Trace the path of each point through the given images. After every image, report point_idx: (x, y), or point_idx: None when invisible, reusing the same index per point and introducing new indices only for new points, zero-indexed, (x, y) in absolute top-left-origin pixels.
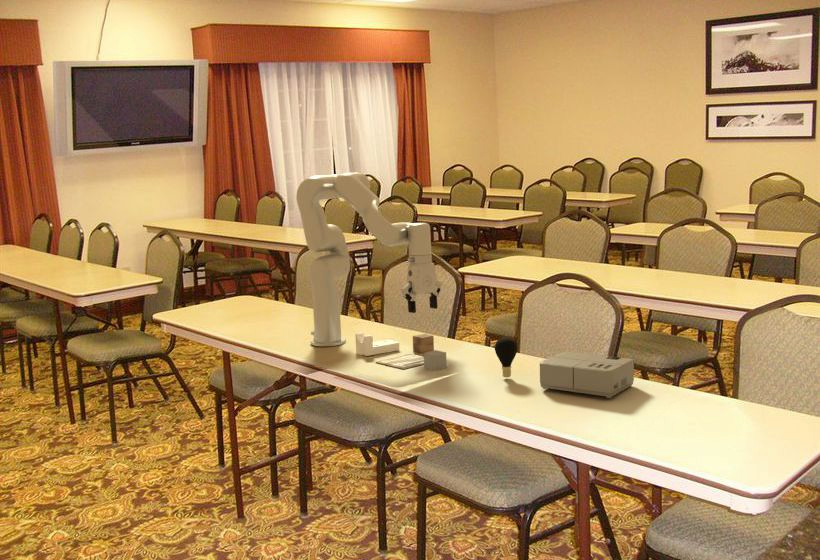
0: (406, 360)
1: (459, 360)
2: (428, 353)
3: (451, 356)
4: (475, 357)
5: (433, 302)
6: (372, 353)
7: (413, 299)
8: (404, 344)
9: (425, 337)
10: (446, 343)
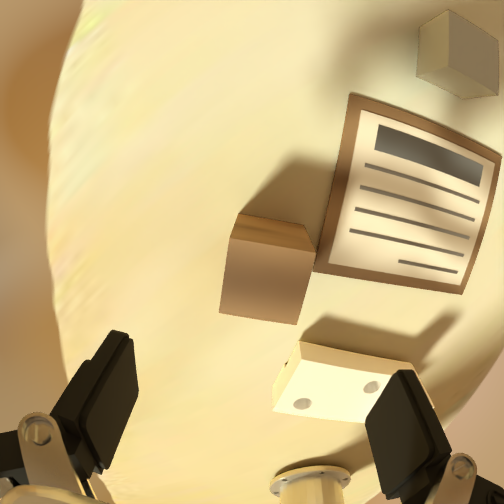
0: (427, 213)
1: (302, 30)
2: (495, 71)
3: (258, 99)
4: (219, 10)
5: (113, 398)
6: (396, 363)
7: (451, 470)
8: (192, 381)
9: (292, 248)
10: (90, 274)
